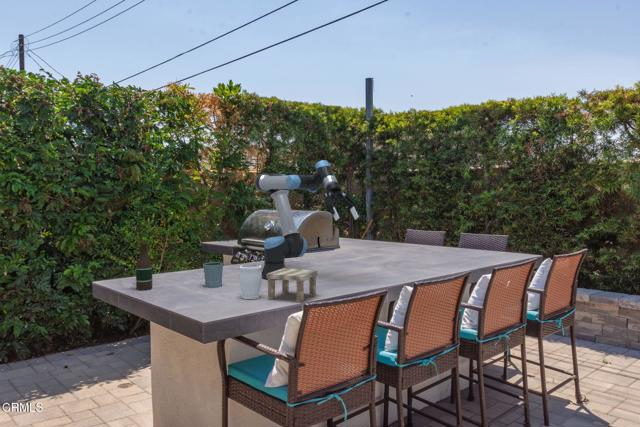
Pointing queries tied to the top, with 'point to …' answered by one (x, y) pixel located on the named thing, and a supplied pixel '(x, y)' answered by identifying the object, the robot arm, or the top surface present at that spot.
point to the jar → (250, 281)
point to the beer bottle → (143, 269)
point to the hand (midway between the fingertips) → (347, 218)
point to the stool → (292, 274)
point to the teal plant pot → (213, 274)
